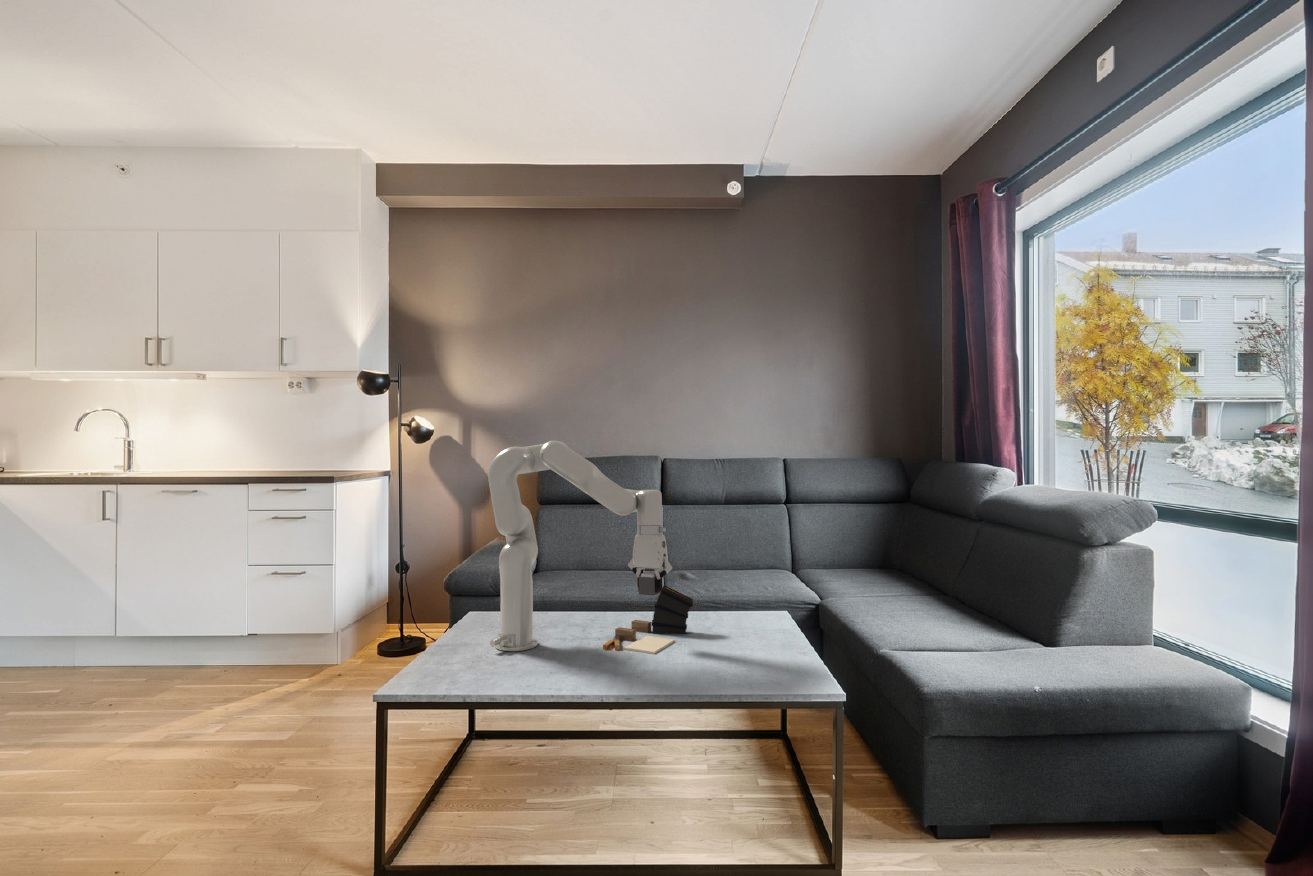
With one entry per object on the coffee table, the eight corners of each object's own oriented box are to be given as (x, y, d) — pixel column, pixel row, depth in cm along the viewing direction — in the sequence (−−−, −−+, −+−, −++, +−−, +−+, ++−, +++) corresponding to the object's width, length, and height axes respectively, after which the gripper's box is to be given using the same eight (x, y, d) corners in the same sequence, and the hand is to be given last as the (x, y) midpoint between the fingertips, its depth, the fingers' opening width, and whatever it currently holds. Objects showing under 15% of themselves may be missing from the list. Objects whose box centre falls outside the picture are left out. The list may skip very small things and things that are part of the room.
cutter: (619, 650, 191) (619, 645, 191) (602, 650, 191) (602, 645, 191) (625, 639, 202) (625, 635, 202) (609, 639, 202) (609, 634, 202)
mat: (654, 654, 187) (654, 652, 187) (624, 649, 191) (624, 647, 191) (674, 641, 199) (674, 639, 199) (646, 637, 204) (646, 635, 204)
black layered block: (643, 625, 212) (662, 584, 212) (679, 643, 211) (699, 602, 211) (642, 628, 208) (662, 586, 208) (679, 646, 208) (699, 604, 208)
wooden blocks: (632, 641, 200) (632, 631, 200) (615, 638, 203) (615, 629, 203) (651, 631, 212) (651, 621, 212) (635, 628, 214) (635, 619, 214)
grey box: (653, 595, 193) (653, 575, 193) (638, 594, 195) (638, 574, 195) (661, 592, 197) (660, 572, 197) (646, 591, 199) (646, 571, 199)
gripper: (680, 530, 196) (680, 591, 195) (631, 528, 204) (631, 586, 203) (669, 533, 189) (669, 596, 189) (619, 530, 197) (619, 590, 196)
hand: (649, 590), depth 196 cm, fingers closed on grey box, 5 cm apart
